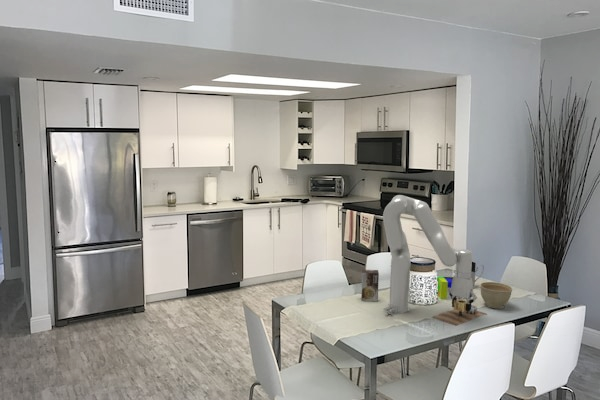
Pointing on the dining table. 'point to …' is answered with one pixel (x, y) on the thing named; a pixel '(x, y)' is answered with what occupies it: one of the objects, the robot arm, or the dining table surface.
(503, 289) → the planter bowl
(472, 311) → the steel gear
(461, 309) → the brass gear
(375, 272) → the coffee box
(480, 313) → the gear board
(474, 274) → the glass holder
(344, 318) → the dining table surface
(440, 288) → the puzzle toy
